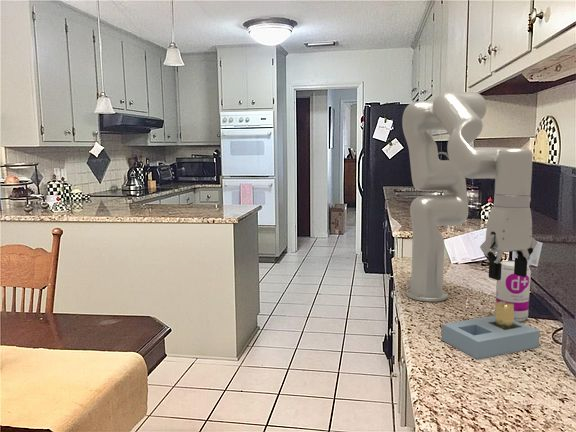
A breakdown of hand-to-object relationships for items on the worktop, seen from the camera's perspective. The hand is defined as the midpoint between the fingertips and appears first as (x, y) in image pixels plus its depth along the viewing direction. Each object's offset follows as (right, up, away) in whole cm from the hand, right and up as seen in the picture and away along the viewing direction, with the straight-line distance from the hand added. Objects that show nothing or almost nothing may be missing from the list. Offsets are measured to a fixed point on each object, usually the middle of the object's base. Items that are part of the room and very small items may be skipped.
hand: (507, 276), depth 116 cm
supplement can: (+9, -14, +18) cm, 25 cm away
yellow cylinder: (0, -14, +2) cm, 15 cm away
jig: (-4, -16, +1) cm, 16 cm away
